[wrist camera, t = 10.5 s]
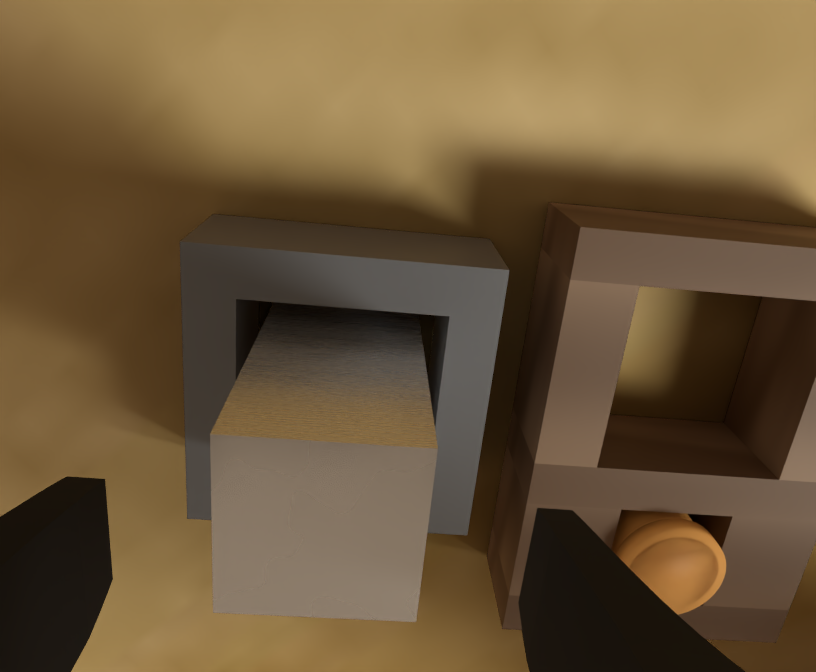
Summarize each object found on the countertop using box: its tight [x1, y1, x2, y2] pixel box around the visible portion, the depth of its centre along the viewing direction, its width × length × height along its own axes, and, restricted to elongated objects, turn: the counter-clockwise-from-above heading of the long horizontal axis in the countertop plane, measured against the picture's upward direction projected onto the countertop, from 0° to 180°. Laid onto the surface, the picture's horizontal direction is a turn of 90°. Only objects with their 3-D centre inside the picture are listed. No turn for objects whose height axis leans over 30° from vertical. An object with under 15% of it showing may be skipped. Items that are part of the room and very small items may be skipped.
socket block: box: [487, 202, 816, 643], centre depth 18 cm, size 11×8×3 cm
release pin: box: [611, 510, 726, 615], centre depth 19 cm, size 3×3×3 cm
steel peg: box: [210, 302, 438, 622], centre depth 15 cm, size 4×4×8 cm
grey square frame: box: [180, 214, 510, 535], centre depth 17 cm, size 7×7×3 cm
